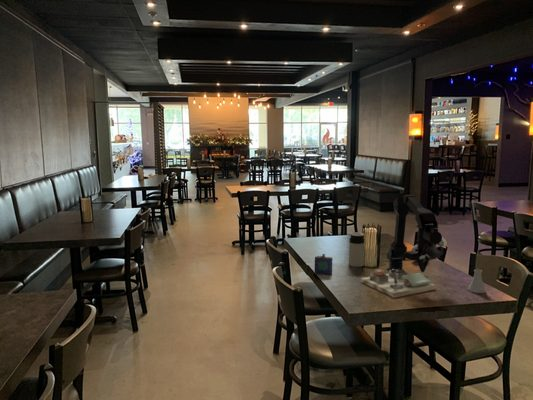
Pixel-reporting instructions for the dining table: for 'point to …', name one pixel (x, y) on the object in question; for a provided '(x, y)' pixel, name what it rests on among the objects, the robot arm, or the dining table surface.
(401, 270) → the black button
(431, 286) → the control panel
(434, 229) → the robot arm
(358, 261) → the travel mug
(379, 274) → the terracotta button
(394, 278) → the toggle lever
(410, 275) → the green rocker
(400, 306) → the dining table surface
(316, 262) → the flask
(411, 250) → the donut
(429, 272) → the dining table surface
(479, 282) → the flask
